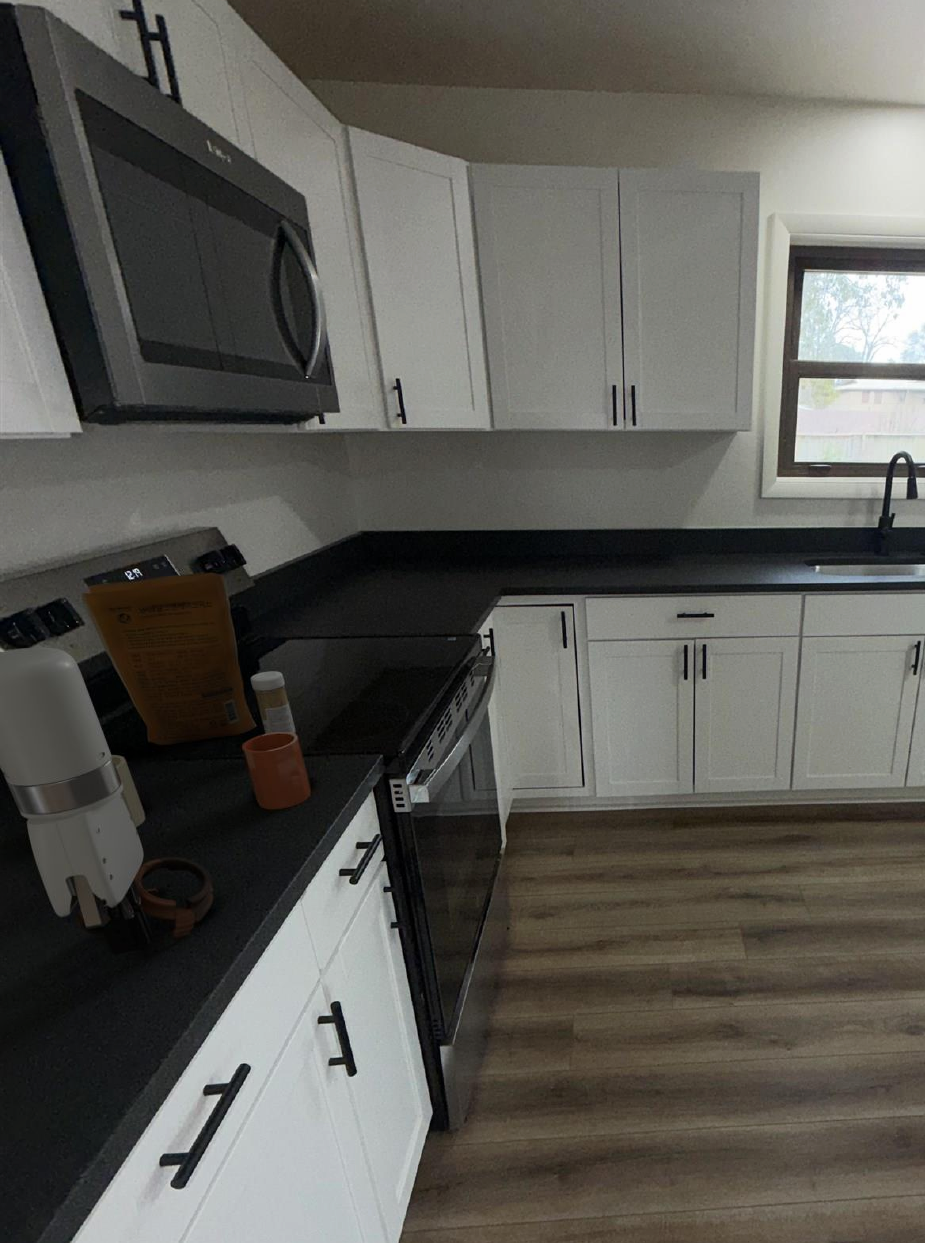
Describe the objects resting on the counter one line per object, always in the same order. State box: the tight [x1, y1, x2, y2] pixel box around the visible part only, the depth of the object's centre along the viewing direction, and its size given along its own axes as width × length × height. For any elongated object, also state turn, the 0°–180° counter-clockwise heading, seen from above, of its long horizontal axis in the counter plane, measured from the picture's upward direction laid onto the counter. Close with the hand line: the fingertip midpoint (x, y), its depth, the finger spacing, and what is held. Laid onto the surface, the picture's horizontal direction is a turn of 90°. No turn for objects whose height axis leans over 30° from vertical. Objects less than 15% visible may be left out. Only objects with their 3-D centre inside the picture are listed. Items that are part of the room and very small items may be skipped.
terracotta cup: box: [241, 732, 312, 810], centre depth 105 cm, size 7×7×9 cm
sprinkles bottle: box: [250, 670, 297, 735], centre depth 119 cm, size 5×5×13 cm
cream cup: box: [111, 754, 146, 829], centre depth 98 cm, size 7×7×9 cm
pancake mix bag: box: [80, 572, 257, 746], centre depth 121 cm, size 7×19×28 cm, turn 113°
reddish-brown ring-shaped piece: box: [75, 856, 214, 938], centre depth 79 cm, size 12×10×8 cm
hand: (133, 945), depth 74 cm, fingers closed
